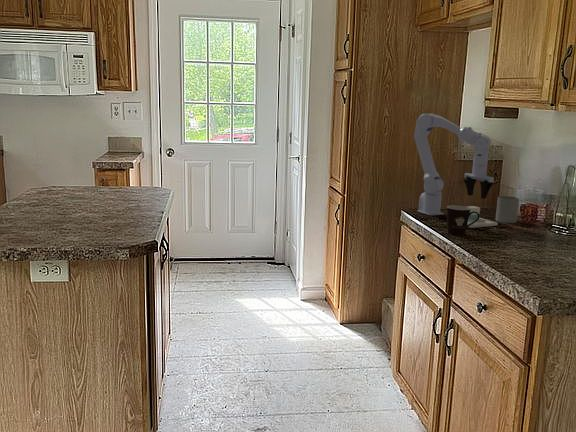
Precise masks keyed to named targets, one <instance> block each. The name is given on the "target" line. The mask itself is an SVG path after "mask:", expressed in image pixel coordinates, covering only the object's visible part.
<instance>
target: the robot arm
mask: <svg viewBox="0 0 576 432" xmlns="http://www.w3.org/2000/svg"><path fill="white" fill-rule="evenodd" d="M415 123H416V125H415V130H414V133H413V138H414V141H415V145H416V149H417V152H418V155H419V156H418V157H419V159H420V162H421V167H422V170H423V173H424V174H423V190H424V192H422V193H421V194H420V196H419V200H418V209H417V210H416V212H418V213H421V214H423V215H428V216H441V215H443V216H444V215H445V213H444V212H441V207H442V206H441V203H442V195H443V193H442V190H443V189H444V187H445V184H444V180H443V179H442V178H441V176H440V173H439V172H438V171H437V169H436V165H435V161H434V158H433V154H432V151H431V147H430V144H429V140H428V136H429V134H430V132H431V131H432V130H433V129H434V128H439V127H440V128H443V129H445V130H447V131H449V132H451V133H454V134H456V135H457V138H458V140H461V141H462V142H464V143H466V144H468V145H470V146H473V148H474V154H473V162H472V170H471V171H472V172H471V173H470V172H465V173H464V178H463V181H464V184H465V187H466V192H467V196H473V194H474V187H475V186H476V182H477V181H479V184H480V189H481V191H480V199H487V196H488V194H489V192H490V190H491V188H492V187H493V186H494V180H495V178H494V177H493V176H489V175H487V171H488V164H489V163H488V161H489V150H490V149H489V148H490V147H491V145H492V139H490V137H489V136H487V135H486V134H485V135H482V132H477V131H475V130H473V128H472V126H471V127H470V126H464V127H461V126H460V125H457V124H455V123H453V122H452V121H450V120H448V119H447V118H445V117H442V116H441V115H437V114H435V113H432V112H431V113H422V114H420V115H419V117H418V118H417V119H416V121H415Z"/></svg>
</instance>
